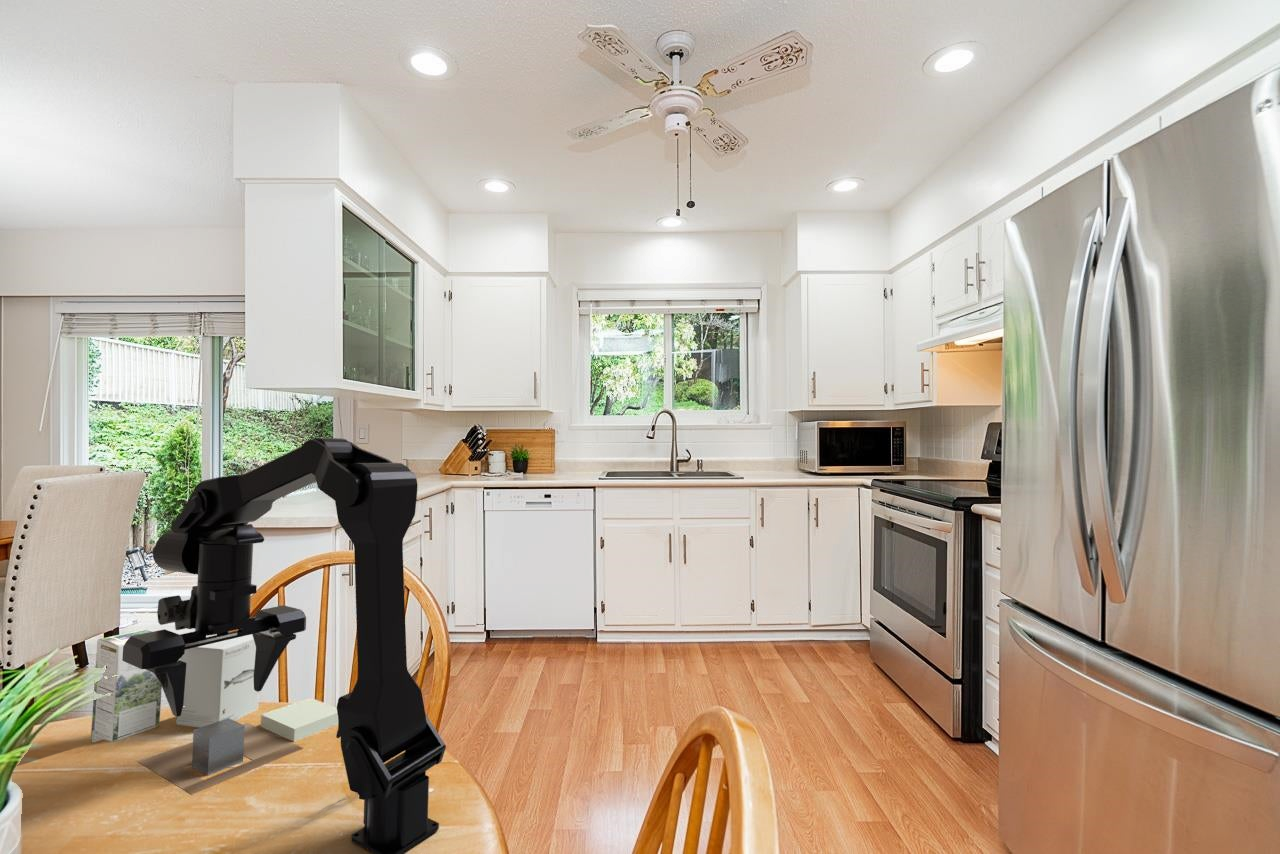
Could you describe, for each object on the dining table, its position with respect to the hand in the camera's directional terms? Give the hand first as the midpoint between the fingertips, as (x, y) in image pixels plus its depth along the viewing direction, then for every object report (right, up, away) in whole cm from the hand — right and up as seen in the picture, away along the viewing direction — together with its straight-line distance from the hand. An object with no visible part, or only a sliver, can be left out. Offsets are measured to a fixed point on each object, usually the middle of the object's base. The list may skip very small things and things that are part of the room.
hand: (219, 702), depth 77 cm
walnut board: (-1, -9, +2) cm, 9 cm away
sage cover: (+4, -10, +11) cm, 15 cm away
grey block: (0, -9, -1) cm, 9 cm away
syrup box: (-19, -9, +8) cm, 23 cm away
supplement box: (-9, -10, +13) cm, 19 cm away
